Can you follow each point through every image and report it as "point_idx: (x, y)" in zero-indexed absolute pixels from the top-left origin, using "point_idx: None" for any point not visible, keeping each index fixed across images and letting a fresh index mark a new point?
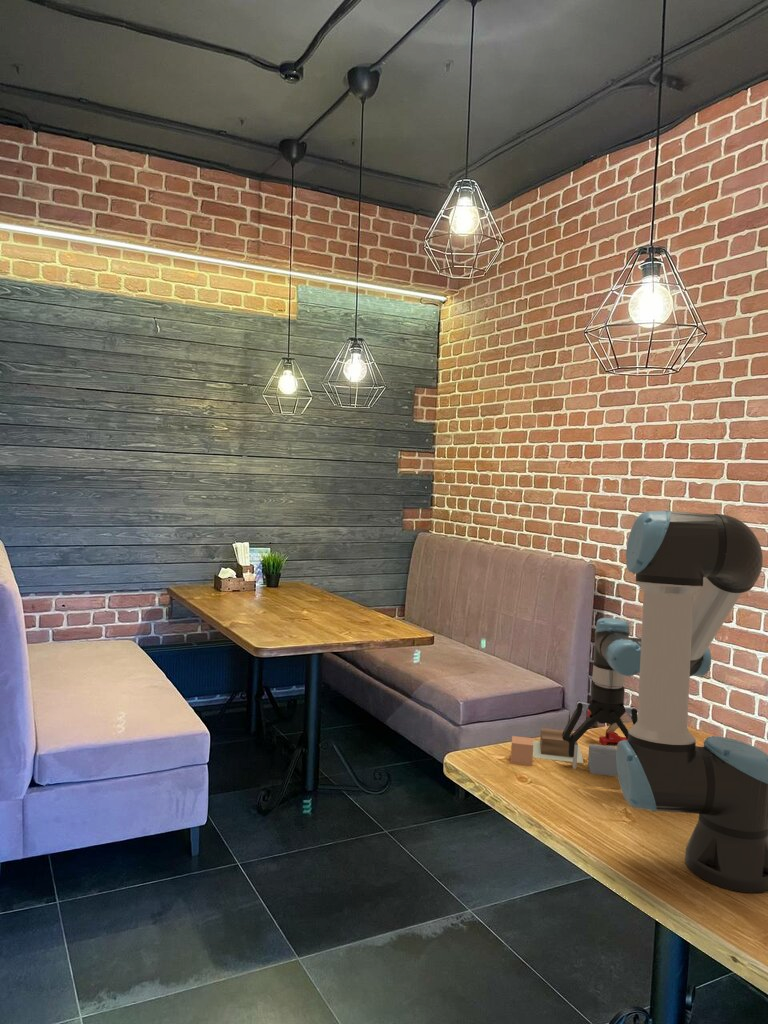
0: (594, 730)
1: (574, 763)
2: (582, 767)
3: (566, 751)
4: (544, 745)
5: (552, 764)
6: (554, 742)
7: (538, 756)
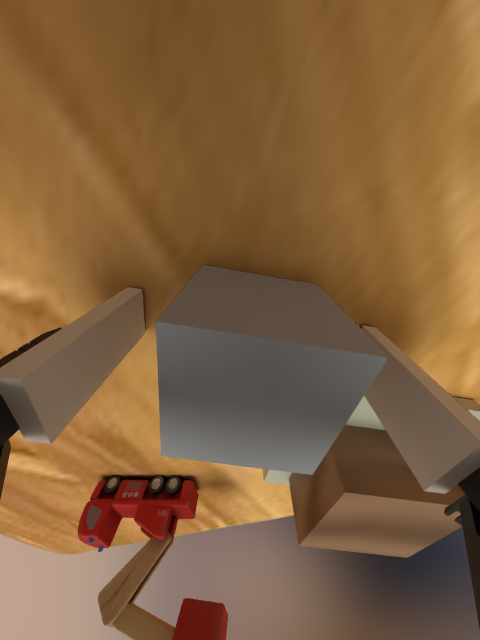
0: (192, 531)
1: (394, 349)
2: None
3: (357, 444)
4: None
5: None
6: None
7: None
